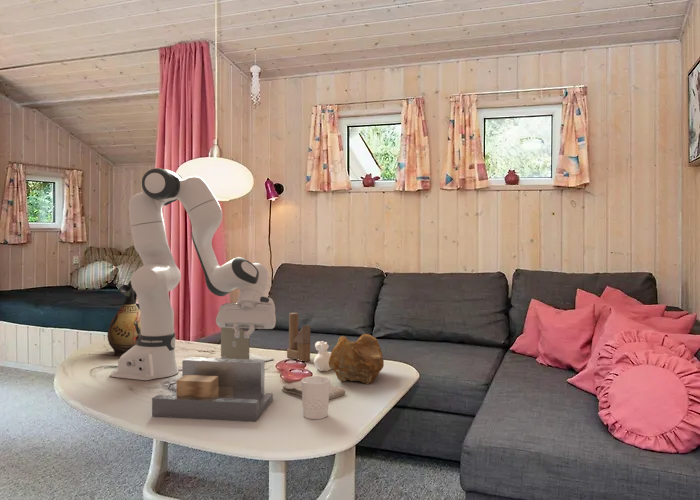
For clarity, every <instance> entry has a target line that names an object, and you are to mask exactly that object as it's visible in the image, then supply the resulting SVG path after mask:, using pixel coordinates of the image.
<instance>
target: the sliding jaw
mask: <svg viewBox="0 0 700 500" xmlns="http://www.w3.org/2000/svg"><path fill="white" fill-rule="evenodd" d="M265 363H266V362H265V360H253V359H226V358H221V357H220V358H219V357H194V356H193V357H192V356H187V357H185V358H184V359H182V363H181V365H182V371H181V372H182V376H181V377H183V376H184V375H202V376H218V398H233V399H256V400H259V401H260V400H261V399H262V397H263V396H264V395H265V374H266V373H265V367H266V366H265Z"/></svg>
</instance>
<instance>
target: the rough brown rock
mask: <svg viewBox="0 0 700 500" xmlns="http://www.w3.org/2000/svg"><path fill="white" fill-rule="evenodd" d="M331 352H332V353H331V356H330V359H329V367H330V368H332V369H331V370H333V371H334V372H335V376H336V378H337V379H338V380H339V381H340V382H345V381H349V382H357V381H359V382H361V383H363V384H366V385H370V384H372V383H374V382H375V380H376V378H377V377H378V374H379V373H380V372H381V371H382V370H383V368H384V366H385V365H384V358H383V353H382V350H381V346H380V344H379V341H378V339H377V338H376V337H375V336H373V335H371V334H368V333H365V334H362V335H360V336H359V338H358V339H356V341H350V340H349V339H348V337H346V336H345V335H344V336H339V338H338V339H337V343H336V345H335V346H334V347H333V349H332V350H331Z"/></svg>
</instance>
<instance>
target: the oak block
mask: <svg viewBox="0 0 700 500" xmlns="http://www.w3.org/2000/svg"><path fill="white" fill-rule="evenodd" d="M176 392H177V396H188V397H211V398H218V376H202V375H184V376H183V377H182V376H181V377H179V378H178V379H177V380H176Z"/></svg>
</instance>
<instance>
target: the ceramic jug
mask: <svg viewBox="0 0 700 500" xmlns="http://www.w3.org/2000/svg"><path fill="white" fill-rule="evenodd" d="M119 292H120V293H121V294H123V295H124V296H125V300H124V302H123V305H121V307H120V308H119V310H118V311H117V312H116V313H115V315H114V316H113V318H112V320H111V321H110V323H109V327H108V329H107V337H106V338H107V341H108V344H109V345H110V347H111V348H112V350H113V351H114V355H115V356H117V357H121V356H122V355H123V354H124V353H126V352H127V351H128V350H129V349H131V348H132V347H133V346H135V345H136V340H135V341H133V340H134V339H135V338H134V337H136V336H137V335H139V334H140V333H141V315H140V307H139V306H138V305H137V304H136V303H137V295H136V292H135V291H134V290H133V288H132V285H131V280H129V282H128V285H127V284H122V285H121V286H120V288H119Z"/></svg>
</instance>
